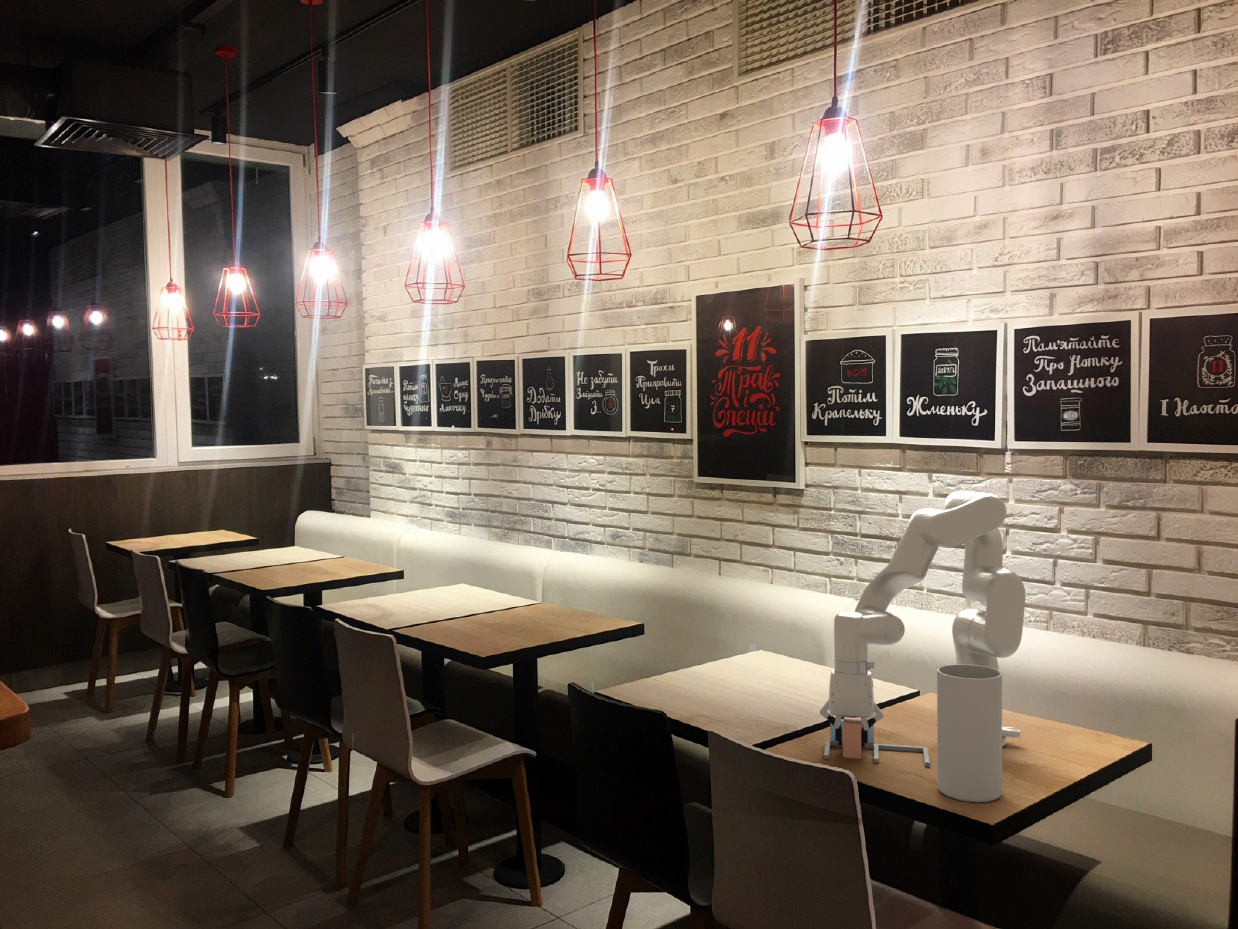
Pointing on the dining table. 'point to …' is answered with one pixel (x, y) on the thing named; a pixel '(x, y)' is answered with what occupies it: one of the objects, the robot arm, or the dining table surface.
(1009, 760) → the dining table surface
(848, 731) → the plug block
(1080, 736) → the dining table surface
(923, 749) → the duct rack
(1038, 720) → the dining table surface
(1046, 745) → the dining table surface
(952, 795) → the cylinder vase
